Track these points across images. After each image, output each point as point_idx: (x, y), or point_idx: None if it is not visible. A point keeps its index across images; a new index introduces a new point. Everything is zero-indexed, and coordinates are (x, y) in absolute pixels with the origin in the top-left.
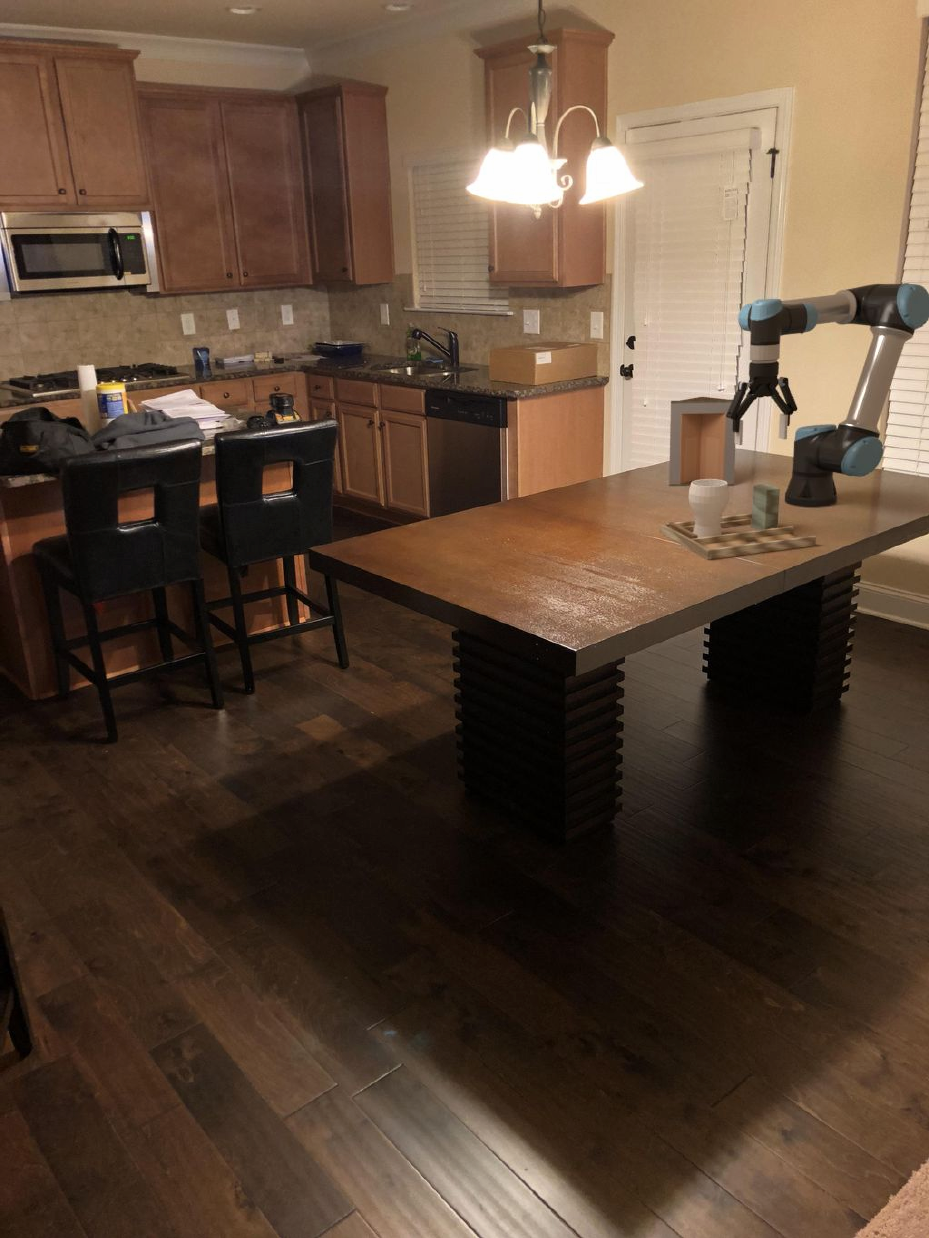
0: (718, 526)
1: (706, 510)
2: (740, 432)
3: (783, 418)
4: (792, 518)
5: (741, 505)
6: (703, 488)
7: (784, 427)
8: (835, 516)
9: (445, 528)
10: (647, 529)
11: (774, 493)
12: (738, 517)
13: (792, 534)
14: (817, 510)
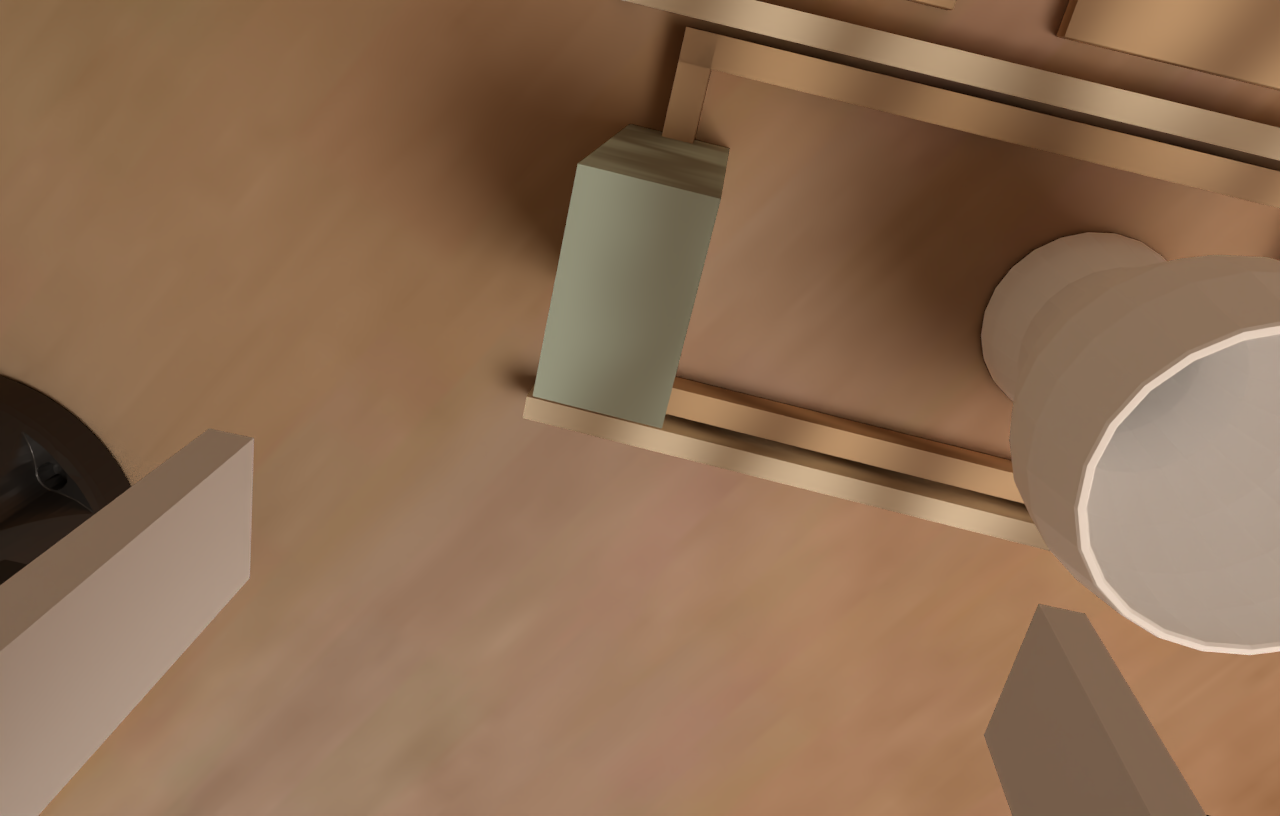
0: (1099, 266)
1: None
2: (1174, 769)
3: (12, 710)
4: (329, 304)
5: (390, 689)
6: None
7: (136, 550)
8: (65, 165)
9: None
10: (1210, 667)
11: (640, 171)
12: (698, 435)
13: None
14: (80, 344)
